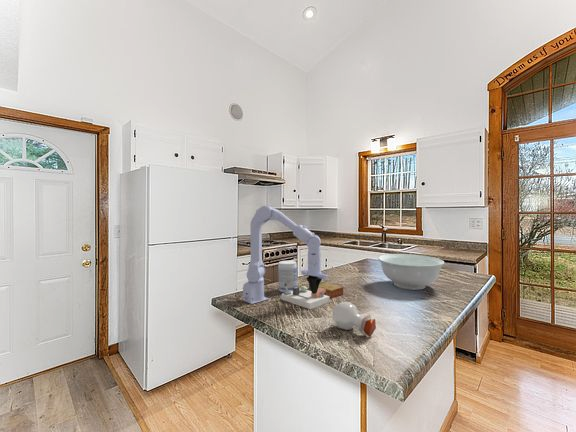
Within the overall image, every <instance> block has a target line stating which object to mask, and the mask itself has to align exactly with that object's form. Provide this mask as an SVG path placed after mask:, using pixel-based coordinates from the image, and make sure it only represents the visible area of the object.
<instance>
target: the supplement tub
mask: <svg viewBox="0 0 576 432" xmlns="http://www.w3.org/2000/svg"><path fill="white" fill-rule="evenodd" d="M297 265H298V264H297V261H295V260H281V261H279V262H278V266H277V269H278V274H277V275H278V291H279V292H281V293H284V292H290V291H293V288H294V287H298V268H297V267H298V266H297ZM285 283H286V284H287V288H288V291H286V288H285V286H284V284H285Z"/></svg>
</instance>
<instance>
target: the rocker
mask: <svg viewBox="0 0 576 432" xmlns="http://www.w3.org/2000/svg"><path fill="white" fill-rule="evenodd" d="M325 292H326V289H324V288H320V287H319V288H318V290H317V293H315V294H313V293H312V292H311V296H314V297H319V296H320V295H321V293H325Z"/></svg>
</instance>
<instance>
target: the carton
mask: <svg viewBox="0 0 576 432" xmlns="http://www.w3.org/2000/svg"><path fill="white" fill-rule="evenodd" d="M319 287H320V288H324V289H326V292H325V293H324V295H326V296H330V299H334V298H337V297H338V298H339V297H340V296H343V295H344V287H343V286H340V285H337V284H332V283H328V282H324V281H321V282H320V284H319ZM319 287H318V288H319ZM308 290H309V291H311V288H310V285H309V284H308Z"/></svg>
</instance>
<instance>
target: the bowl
mask: <svg viewBox="0 0 576 432" xmlns="http://www.w3.org/2000/svg"><path fill="white" fill-rule="evenodd" d="M377 258H378V261H379V262H380V265H381V269H382V272H383V274H384V275H385V277H387V278H388V280H390V281H392V282H393V283H394V285H395V286H396V287H397V288H400V289H405V290H411V291H414V290H415V291H420V290H423V289H425V288H426V287H427V286H428V285H429V284H432V283H433V282H435V281H436V280H437V279H438V278H439V277H440V274H441V270H442V267H443V266H444V265H445V261H444V260H442V259H440V258H438V257H433V256H428V255H422V254H413V253H412V254H411V253H410V254H409V253H408V254H407V253H388V254H382V255H380V256H378V257H377ZM395 286H394V287H395Z"/></svg>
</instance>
